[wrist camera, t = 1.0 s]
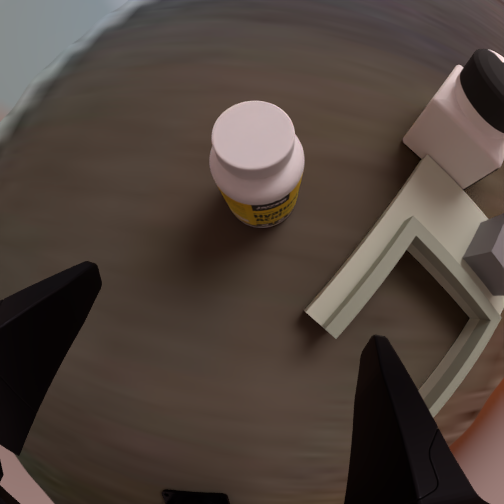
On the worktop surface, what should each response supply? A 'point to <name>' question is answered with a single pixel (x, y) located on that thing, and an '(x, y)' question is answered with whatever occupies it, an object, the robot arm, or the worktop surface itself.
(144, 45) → the worktop surface
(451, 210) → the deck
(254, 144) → the supplement bottle
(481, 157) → the medicine bottle
